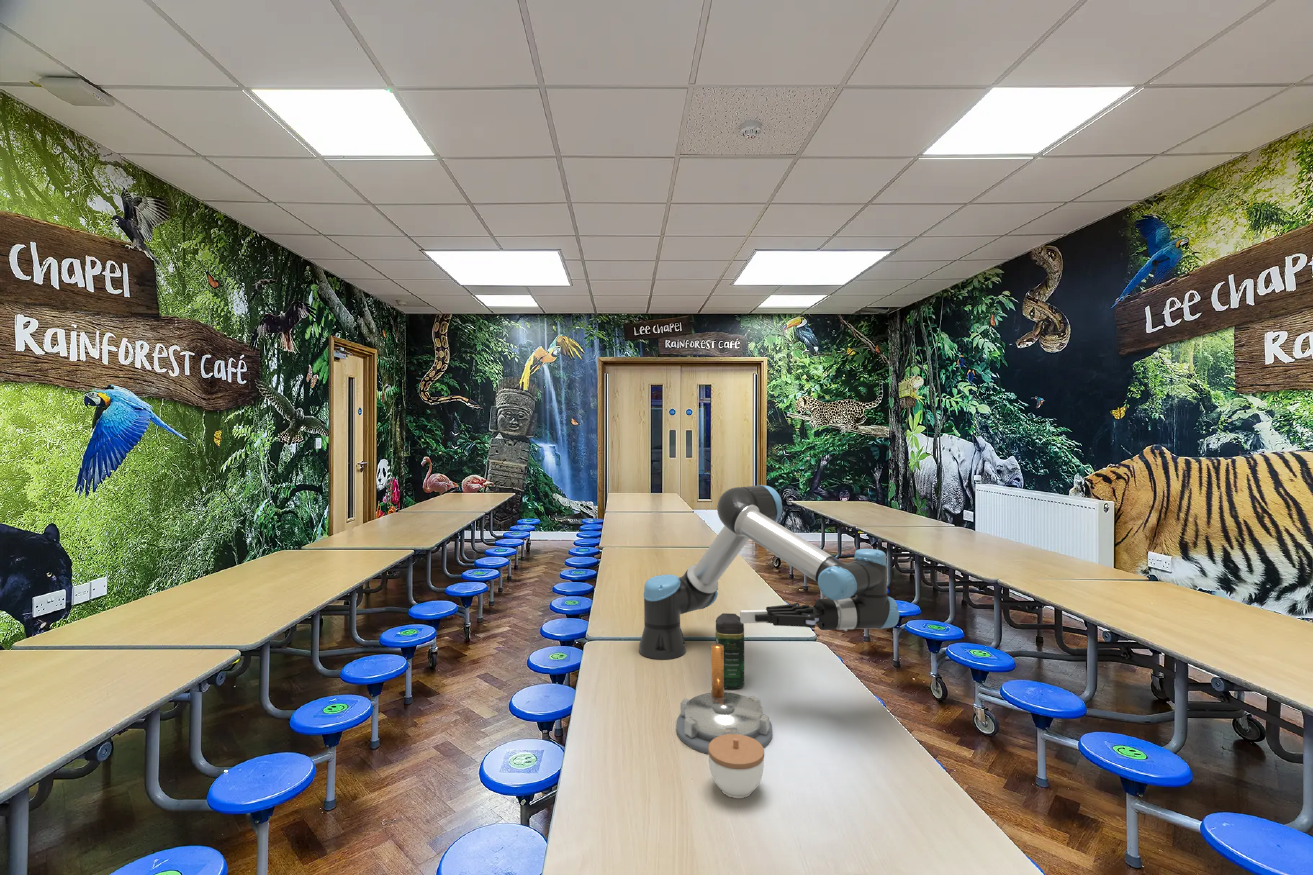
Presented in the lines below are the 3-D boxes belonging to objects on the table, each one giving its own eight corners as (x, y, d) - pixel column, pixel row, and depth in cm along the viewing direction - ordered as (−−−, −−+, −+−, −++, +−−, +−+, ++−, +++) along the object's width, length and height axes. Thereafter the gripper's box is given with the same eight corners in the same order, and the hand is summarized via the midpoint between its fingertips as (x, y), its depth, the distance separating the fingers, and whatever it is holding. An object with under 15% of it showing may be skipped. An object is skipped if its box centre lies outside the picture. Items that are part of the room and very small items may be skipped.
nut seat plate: (657, 726, 130) (657, 719, 130) (723, 699, 144) (723, 693, 144) (724, 768, 113) (724, 760, 113) (792, 733, 127) (792, 725, 127)
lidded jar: (726, 812, 99) (726, 759, 99) (698, 780, 109) (698, 732, 109) (776, 797, 104) (775, 746, 104) (745, 767, 113) (744, 721, 114)
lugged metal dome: (777, 744, 119) (776, 673, 119) (687, 748, 117) (687, 677, 118) (753, 700, 139) (753, 640, 140) (677, 703, 138) (677, 642, 138)
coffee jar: (746, 690, 149) (745, 621, 149) (716, 690, 149) (716, 621, 150) (742, 675, 159) (742, 610, 159) (715, 675, 159) (714, 610, 160)
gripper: (844, 637, 132) (747, 641, 130) (824, 620, 145) (735, 623, 143) (844, 606, 132) (746, 609, 130) (824, 592, 145) (735, 594, 143)
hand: (740, 616), depth 137 cm, fingers closed
